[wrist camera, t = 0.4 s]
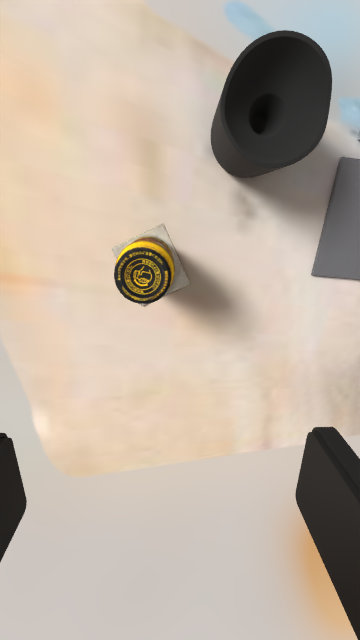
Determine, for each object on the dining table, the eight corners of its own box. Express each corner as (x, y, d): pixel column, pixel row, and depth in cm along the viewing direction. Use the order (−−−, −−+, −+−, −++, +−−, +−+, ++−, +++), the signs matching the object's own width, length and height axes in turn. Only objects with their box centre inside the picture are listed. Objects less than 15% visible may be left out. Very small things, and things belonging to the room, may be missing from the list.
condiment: (162, 223, 36) (160, 225, 24) (190, 283, 38) (199, 310, 27) (111, 248, 36) (86, 261, 25) (141, 305, 39) (131, 341, 28)
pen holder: (304, 132, 33) (359, 97, 23) (246, 199, 35) (275, 191, 26) (247, 65, 31) (283, -4, 21) (189, 141, 33) (198, 109, 23)
